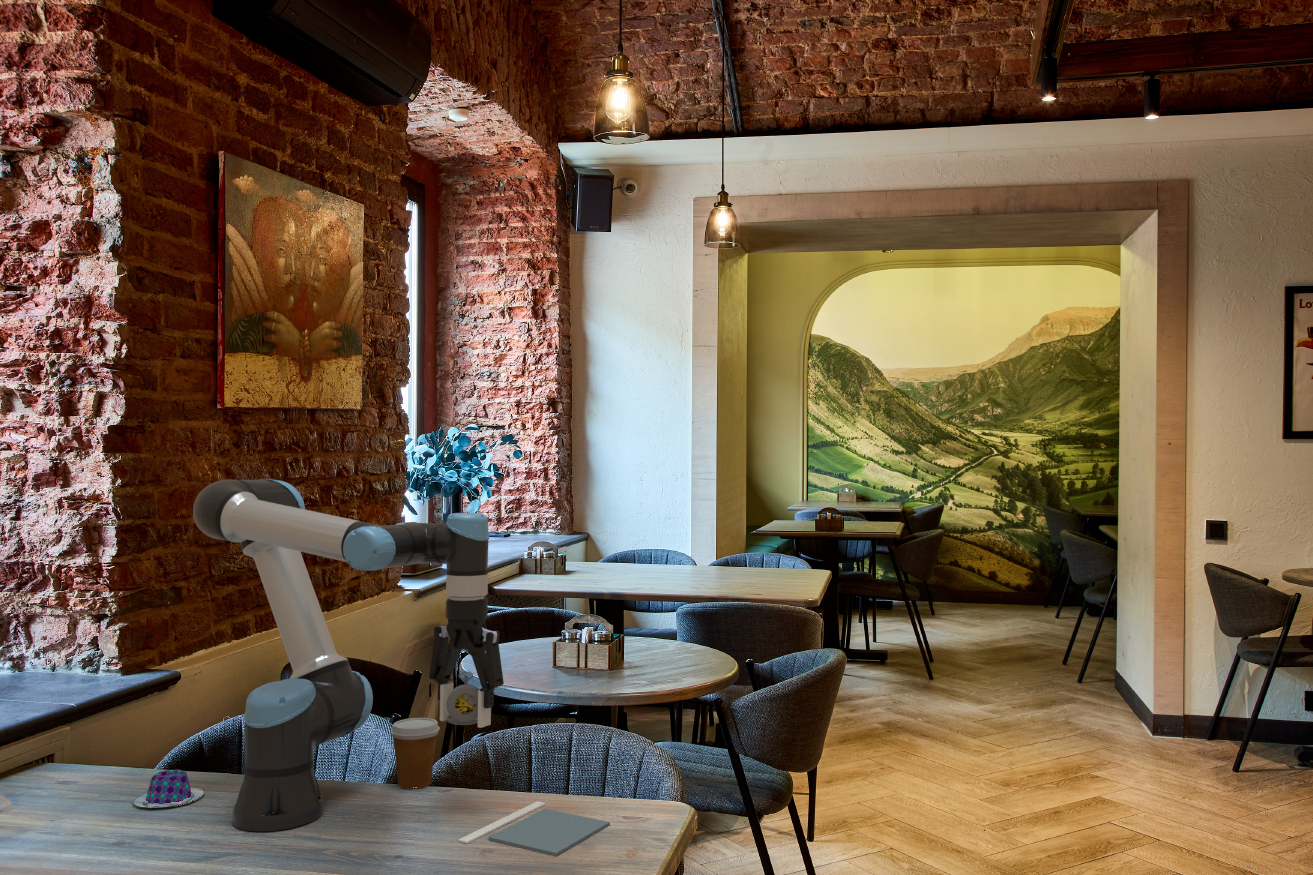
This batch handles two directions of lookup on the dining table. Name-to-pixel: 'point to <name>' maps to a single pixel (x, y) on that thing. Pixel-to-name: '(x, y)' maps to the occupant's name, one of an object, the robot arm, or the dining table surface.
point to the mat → (549, 831)
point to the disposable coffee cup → (415, 751)
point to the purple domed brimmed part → (169, 787)
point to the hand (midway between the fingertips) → (465, 722)
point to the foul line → (500, 823)
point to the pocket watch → (463, 703)
